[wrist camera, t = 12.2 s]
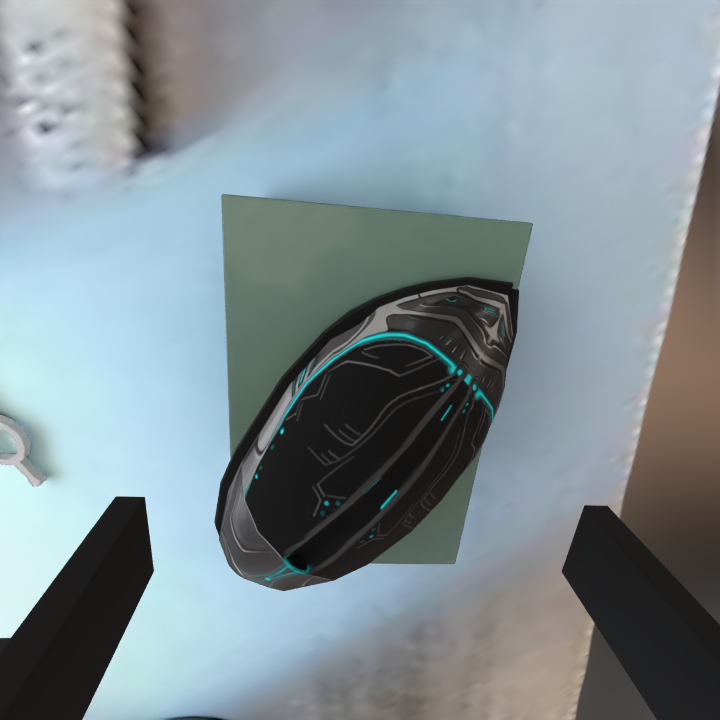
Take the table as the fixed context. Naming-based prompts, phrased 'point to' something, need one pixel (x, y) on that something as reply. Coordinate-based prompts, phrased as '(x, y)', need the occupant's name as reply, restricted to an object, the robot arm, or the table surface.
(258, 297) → the desk shelf
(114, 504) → the robot arm
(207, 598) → the table surface
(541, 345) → the table surface
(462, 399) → the computer mouse
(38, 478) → the scissors
